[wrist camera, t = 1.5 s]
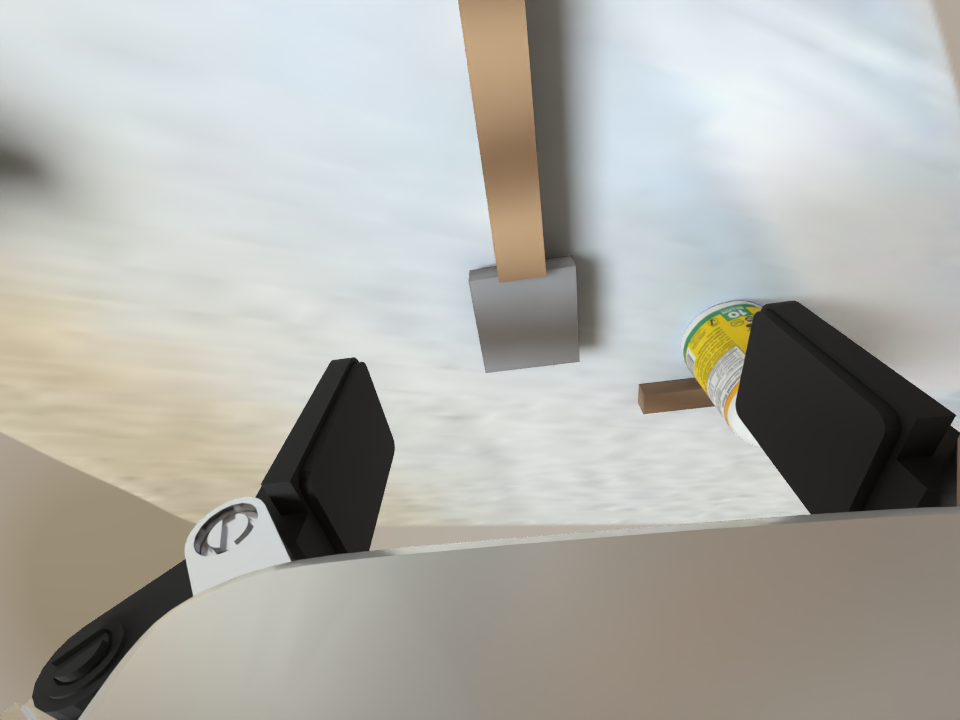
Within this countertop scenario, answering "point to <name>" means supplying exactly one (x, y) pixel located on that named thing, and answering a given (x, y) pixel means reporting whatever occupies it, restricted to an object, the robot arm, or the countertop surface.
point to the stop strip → (672, 396)
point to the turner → (514, 202)
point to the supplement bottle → (721, 356)
